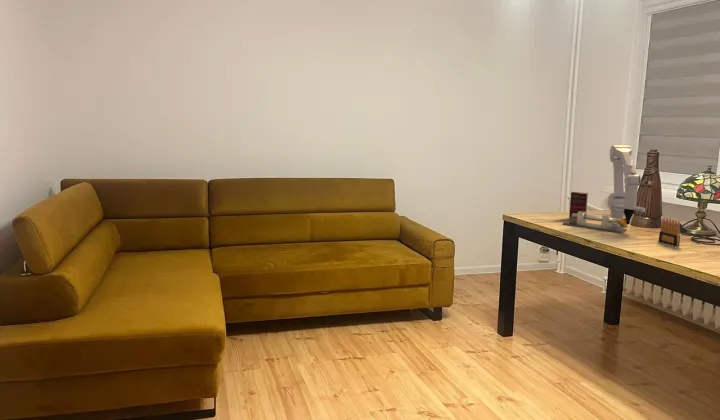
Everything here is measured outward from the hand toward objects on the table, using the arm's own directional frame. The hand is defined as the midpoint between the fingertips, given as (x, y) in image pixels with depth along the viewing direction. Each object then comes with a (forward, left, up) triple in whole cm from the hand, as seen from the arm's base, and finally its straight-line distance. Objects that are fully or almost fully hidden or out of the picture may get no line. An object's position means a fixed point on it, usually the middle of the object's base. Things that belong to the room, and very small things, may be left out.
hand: (627, 224), depth 283 cm
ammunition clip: (+13, +23, -5) cm, 27 cm away
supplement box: (-16, -33, -5) cm, 37 cm away
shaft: (0, -15, -2) cm, 15 cm away
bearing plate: (0, -17, -4) cm, 17 cm away
